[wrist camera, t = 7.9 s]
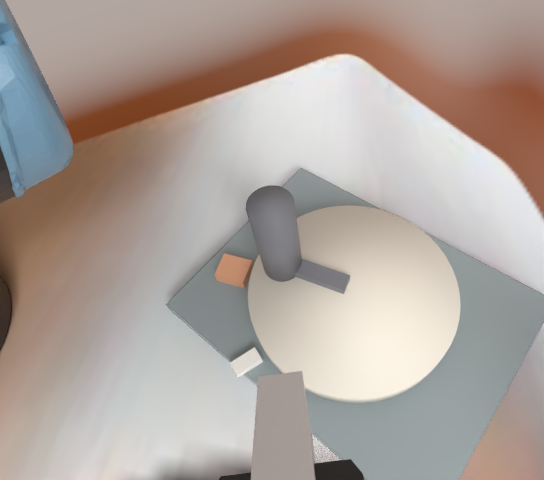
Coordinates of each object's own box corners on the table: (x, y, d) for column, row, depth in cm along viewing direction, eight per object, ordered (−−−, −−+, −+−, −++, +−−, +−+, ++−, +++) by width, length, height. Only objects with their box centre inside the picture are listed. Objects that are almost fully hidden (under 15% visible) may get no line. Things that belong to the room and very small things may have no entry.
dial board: (166, 315, 32) (156, 304, 30) (302, 176, 38) (300, 160, 36) (420, 541, 22) (428, 544, 21) (547, 307, 28) (562, 294, 27)
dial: (264, 219, 34) (245, 138, 26) (440, 221, 31) (474, 134, 24) (238, 392, 26) (201, 350, 19) (466, 413, 24) (527, 374, 16)
